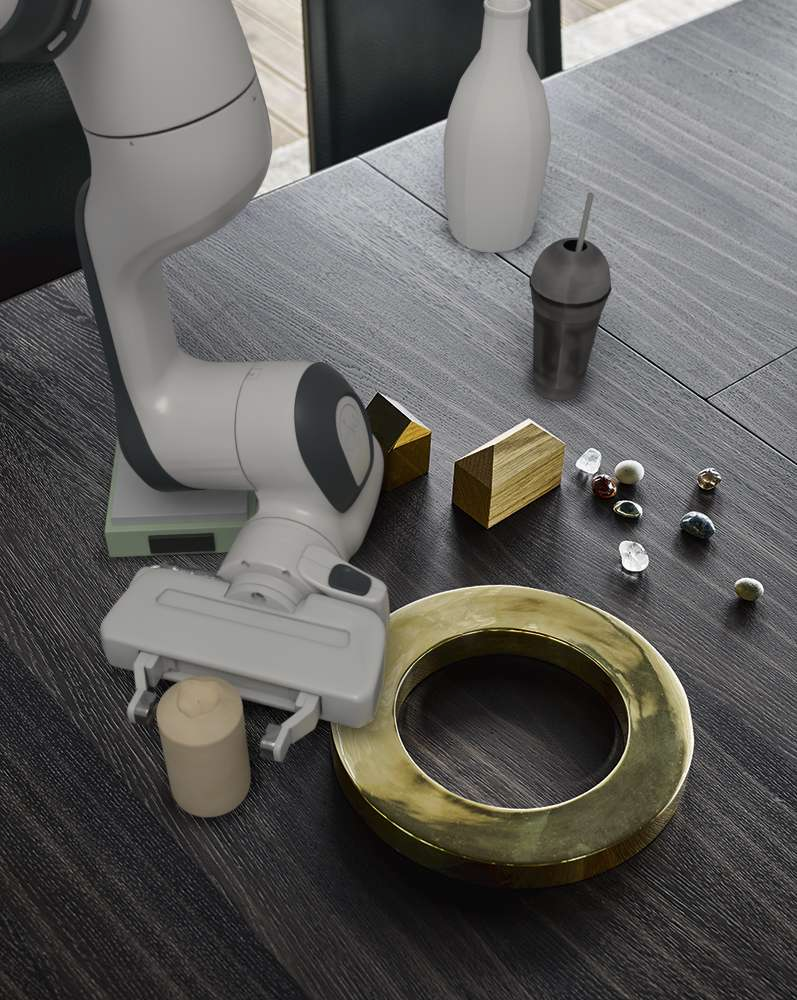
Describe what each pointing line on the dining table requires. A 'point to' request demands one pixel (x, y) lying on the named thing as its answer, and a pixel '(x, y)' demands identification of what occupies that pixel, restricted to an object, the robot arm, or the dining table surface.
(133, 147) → the robot arm
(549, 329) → the beverage cup
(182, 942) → the dining table surface
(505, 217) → the bottle
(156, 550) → the scale
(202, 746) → the candle
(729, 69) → the dining table surface
